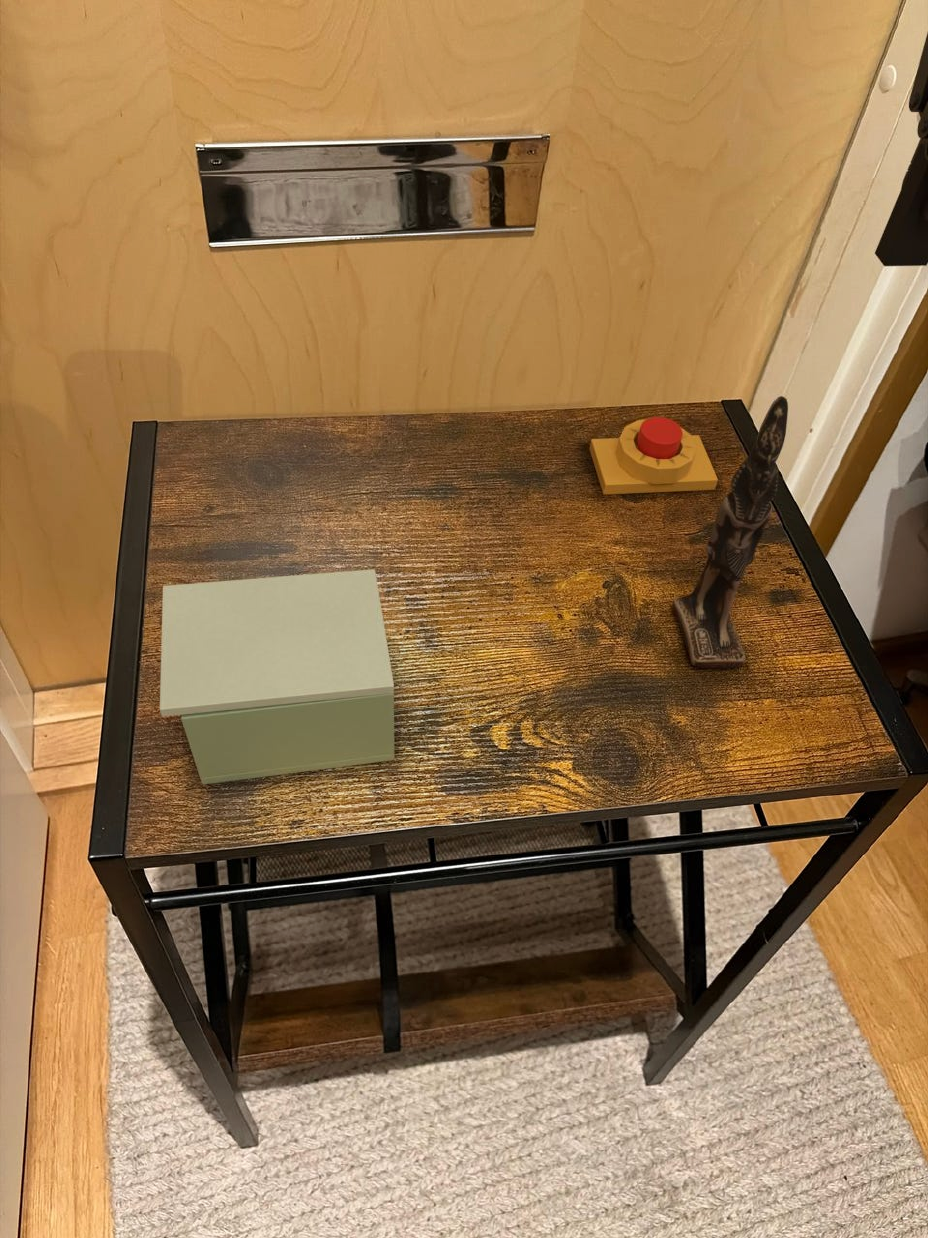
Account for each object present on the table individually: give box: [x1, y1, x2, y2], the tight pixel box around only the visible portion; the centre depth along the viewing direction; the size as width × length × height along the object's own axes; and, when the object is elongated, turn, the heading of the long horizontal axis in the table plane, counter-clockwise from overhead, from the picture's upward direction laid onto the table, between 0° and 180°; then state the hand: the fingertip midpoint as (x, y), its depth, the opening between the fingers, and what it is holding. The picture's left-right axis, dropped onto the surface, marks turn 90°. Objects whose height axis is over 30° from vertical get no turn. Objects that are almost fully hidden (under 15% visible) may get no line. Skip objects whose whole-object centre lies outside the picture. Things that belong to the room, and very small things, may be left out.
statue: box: [672, 395, 789, 669], centre depth 64 cm, size 4×7×20 cm, turn 6°
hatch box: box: [180, 692, 395, 785], centre depth 62 cm, size 13×10×8 cm
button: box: [637, 416, 683, 459], centre depth 81 cm, size 4×4×2 cm
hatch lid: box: [159, 568, 395, 718], centre depth 59 cm, size 14×10×1 cm
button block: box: [588, 418, 719, 496], centre depth 82 cm, size 10×6×3 cm, turn 97°
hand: (900, 258), depth 57 cm, fingers closed
